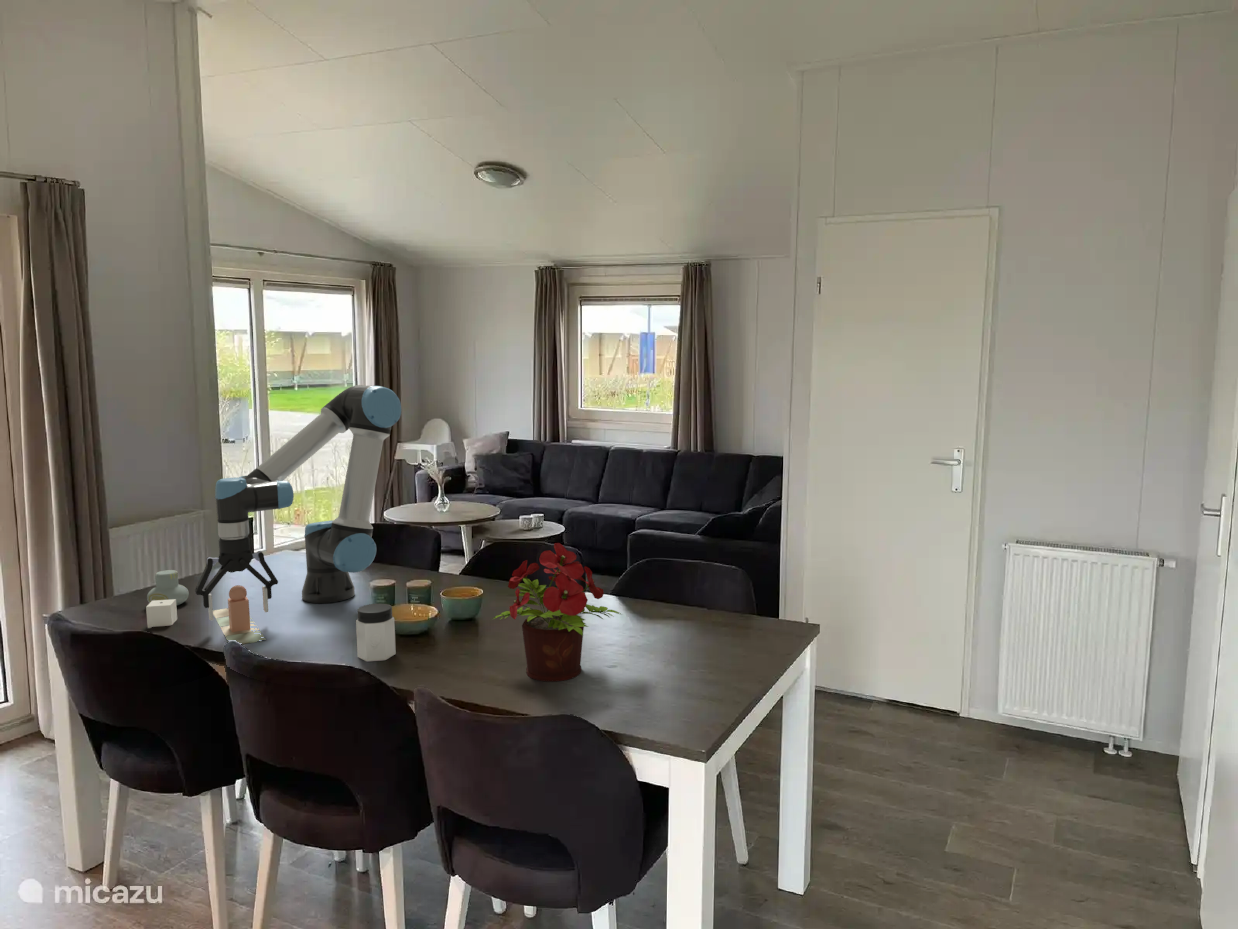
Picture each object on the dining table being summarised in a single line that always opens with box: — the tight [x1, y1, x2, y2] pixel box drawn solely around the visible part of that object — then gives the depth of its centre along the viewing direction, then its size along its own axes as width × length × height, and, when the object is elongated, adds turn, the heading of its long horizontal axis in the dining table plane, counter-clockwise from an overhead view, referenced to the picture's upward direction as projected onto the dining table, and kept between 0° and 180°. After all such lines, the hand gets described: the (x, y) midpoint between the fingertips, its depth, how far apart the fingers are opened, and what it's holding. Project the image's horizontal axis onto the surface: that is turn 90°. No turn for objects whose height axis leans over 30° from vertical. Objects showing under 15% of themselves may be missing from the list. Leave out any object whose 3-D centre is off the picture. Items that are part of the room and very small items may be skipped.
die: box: [145, 599, 178, 629], centre depth 243 cm, size 6×6×6 cm
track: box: [213, 608, 267, 645], centre depth 241 cm, size 8×36×1 cm, turn 31°
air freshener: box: [146, 569, 190, 607], centre depth 260 cm, size 11×8×10 cm
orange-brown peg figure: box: [227, 584, 251, 632], centre depth 237 cm, size 4×4×12 cm
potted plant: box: [491, 542, 622, 682], centre depth 205 cm, size 30×27×30 cm
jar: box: [355, 603, 397, 663], centre depth 216 cm, size 9×8×12 cm
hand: (239, 615), depth 237 cm, fingers open, 13 cm apart
